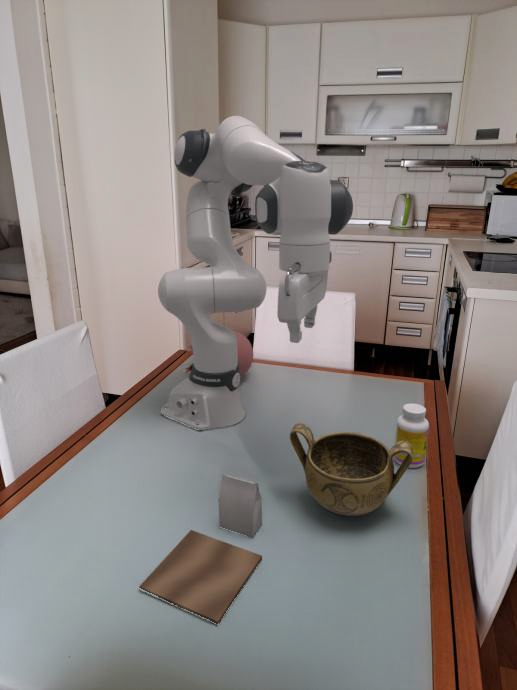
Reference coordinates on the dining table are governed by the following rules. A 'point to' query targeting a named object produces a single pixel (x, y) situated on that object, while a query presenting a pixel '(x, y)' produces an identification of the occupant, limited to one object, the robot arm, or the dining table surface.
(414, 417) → the supplement bottle
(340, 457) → the ceramic bowl
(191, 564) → the walnut board
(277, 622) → the dining table surface
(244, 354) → the balloon
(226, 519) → the white red-printed box
